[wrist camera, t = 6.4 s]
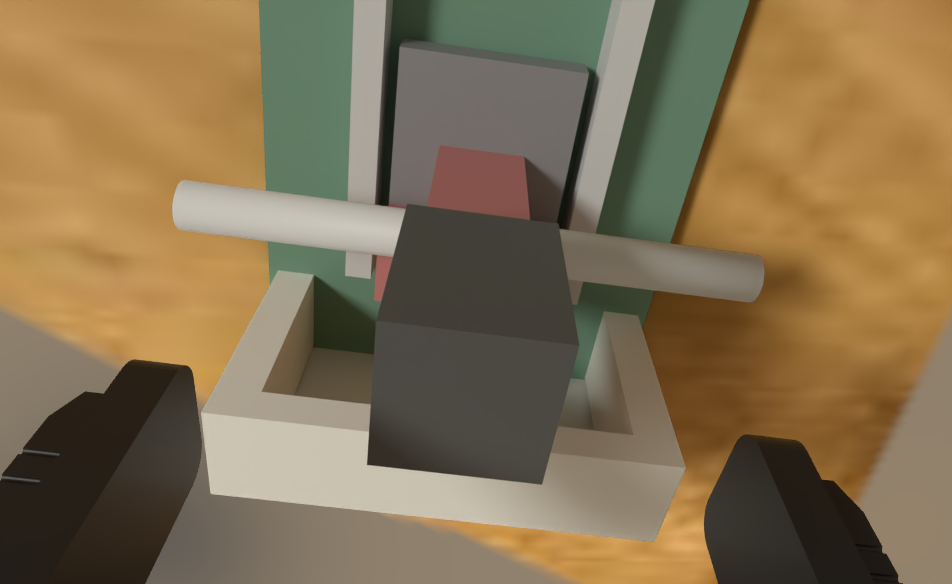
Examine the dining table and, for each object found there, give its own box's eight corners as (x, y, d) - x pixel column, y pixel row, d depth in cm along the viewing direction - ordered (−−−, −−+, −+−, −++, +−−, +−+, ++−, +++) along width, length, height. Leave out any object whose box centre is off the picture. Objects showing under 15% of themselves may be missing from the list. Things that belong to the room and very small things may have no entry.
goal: (278, 270, 23) (201, 412, 17) (637, 315, 23) (685, 468, 17) (280, 360, 25) (213, 515, 19) (611, 399, 25) (645, 562, 19)
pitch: (248, -507, 14) (213, -560, 12) (867, -395, 14) (917, -430, 13) (277, 351, 25) (261, 386, 24) (615, 392, 26) (624, 428, 24)
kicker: (237, 14, 18) (-44, 174, 9) (743, 86, 19) (990, 307, 9) (249, 228, 22) (58, 508, 12) (675, 283, 22) (807, 588, 13)
